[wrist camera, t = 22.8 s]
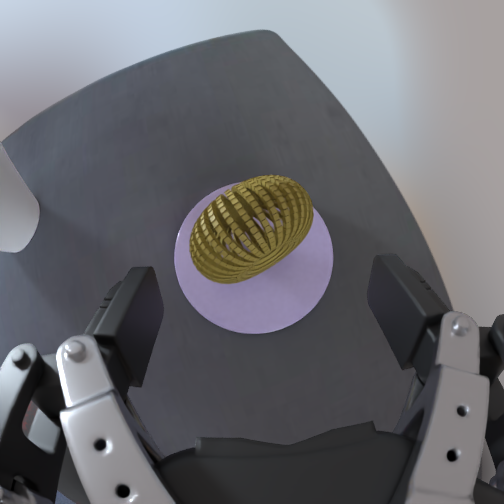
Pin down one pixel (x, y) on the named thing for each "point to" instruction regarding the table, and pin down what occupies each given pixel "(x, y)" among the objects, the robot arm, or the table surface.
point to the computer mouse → (68, 476)
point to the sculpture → (250, 228)
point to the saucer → (258, 281)
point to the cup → (15, 208)
